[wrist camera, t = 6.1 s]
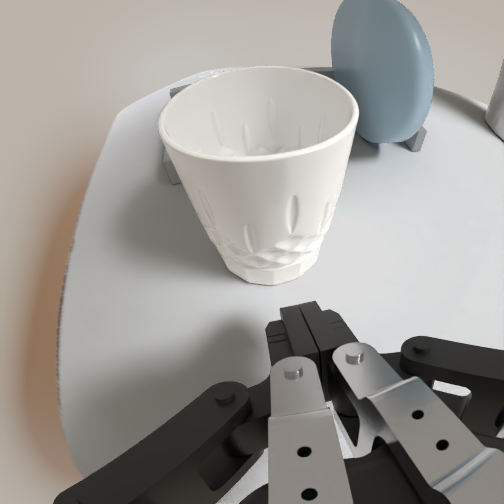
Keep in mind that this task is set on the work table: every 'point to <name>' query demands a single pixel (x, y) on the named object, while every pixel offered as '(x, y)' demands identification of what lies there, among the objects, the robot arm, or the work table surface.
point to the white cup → (262, 163)
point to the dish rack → (376, 72)
